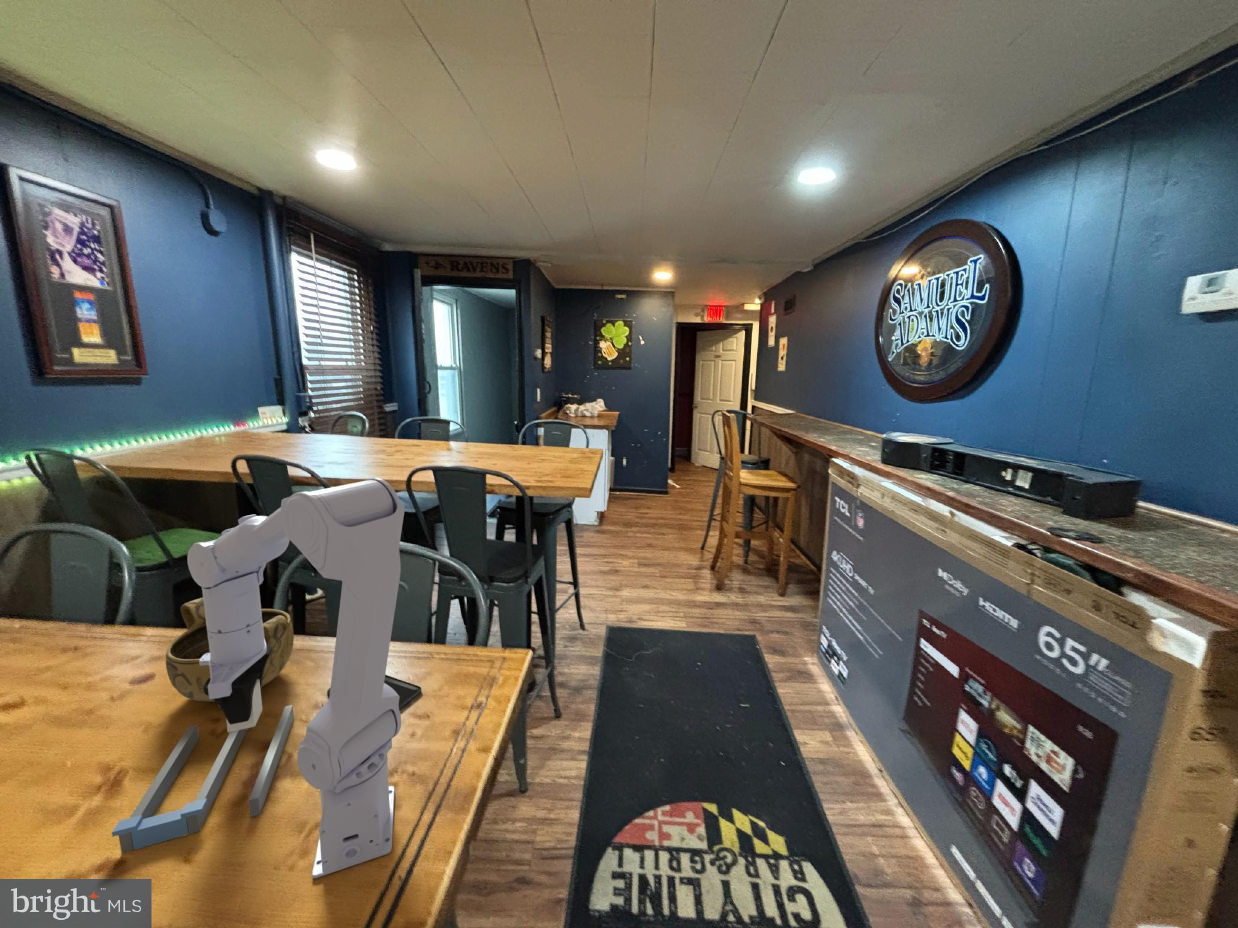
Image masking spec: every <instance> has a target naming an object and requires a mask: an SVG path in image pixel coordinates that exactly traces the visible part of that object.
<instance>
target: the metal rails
mask: <svg viewBox="0 0 1238 928" xmlns="http://www.w3.org/2000/svg"><path fill="white" fill-rule="evenodd" d="M294 719H295V716H294V705H293V704H291V705H286V706H285V707H284V709H283V712H282V714H281V716H280V718H279V721H278V725H277V727H276V729H275V732H274V734H273V737H272V740H271V742H270V745H269V748H268V750H267V751H266V754H265V758H264V759H263V763H262V765H261V767H260V770H259V773H258V775H257V777H256V780H255V783H254V786H253V788H252V791H251V793H250V796H249V798H248V809H249V818H253V817H256V816H261V813H262V810H263V807H264V805H265V802H266V799H267V796H268V793H269V791H270V788H271V785H272V783H273V779H274V776H275V775H276V774H275V773H276V771H277V768H278V765H279V762H280V759H281V757H282V753H283V751H284V748H285V745H286V743H287V740H288V736H289V735H290V731H291V728H292V726H293V722H294ZM248 730H249V728H245V729H241V730H236V731H231V732H229V733H228V736H227V738H226V740H225V742H224V743H223V746H222V748H221V750H220V751H219V753H218V755H217V757H216V759H215V760H214V763H213V765H212V767H211V769H210V770H209V773H208V774H207V776H206V778H205V780H204V783H203V784H202V787H200V789H199V792H198V794H197V795H196V798H195V800H194V801H191V802H186V803H185V805H184V807H183V808H181V809H177V810H173V811H169V812H166V813H162V814H158V815H155V814H156V813H157V811H158V810H159V808H160V806H161V804H162V802H163V801H164V799H165V798H166V795H167V794H168V793H169V791H170V789H171V787H172V785H173V784H174V782H175V780H176V779H177V777H178V775H179V774H180V772H181V770H182V769H183V767H184V765H185V764H186V762H187V761H188V759H189V756H190V755H191V753H192V752H193V750H194V749H195V747H196V745H197V743H198V742H199V741H200V733H199V727H198V724H193V725H189V726H188V727H187V728H186V730H185V732H184V733H183V734H182V736H181V738H180V740H179V741H178V742H177V744H176V745H175V747H174V749H173V750H172V751H171V753H170V754H169V756H168V757H167V759H166V761H165V762H164V764H163V765H162V767H161V769H160V770H159V772H158V773H157V775H156V776H155V777H154V780H153V781H152V783H151V784H150V786H149V787H148V789H147V791H146V792H145V793H144V794H143V796H142V798H141V800H140V801H139V803H138V804H137V806H136V807H135V809H134V810H133V812H132V814H131V815H130V817H129V818H124V819H121V820H119V821H118V822H117V824H116V825H115V827H114V828H113V830H112V832H111V835H112V837H116V836H118V840H119V845H120V852H121V854H124V853H128V852H131V851H134V850H139V849H142V848H146V847H149V846H153V845H156V843H157V844H161V843H163V842H162V841H164V842H168V841H170V839H171V840H174V839H173V838H175V839H179V838H182V837H185V836H188V835H192V833H193V834H196V833H199V832H198V831H201V830H200V829H202V827H203V825H204V823H205V820H207V817H208V815H209V812H210V810H211V808H212V806H213V804H214V801H215V799H216V797H217V795H218V794H219V791H220V789H221V787H222V784H223V783H224V781H225V779H226V777H227V774H228V772H229V769H230V768H231V766H232V763H233V762H234V760H235V758H236V756H237V753H238V751H239V749H240V747H241V744H242V743H243V741H244V739H245V737H246V734H247V731H248ZM195 832H196V833H195ZM184 835H185V836H184ZM181 836H182V837H181ZM167 840H168V841H167Z"/></svg>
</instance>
